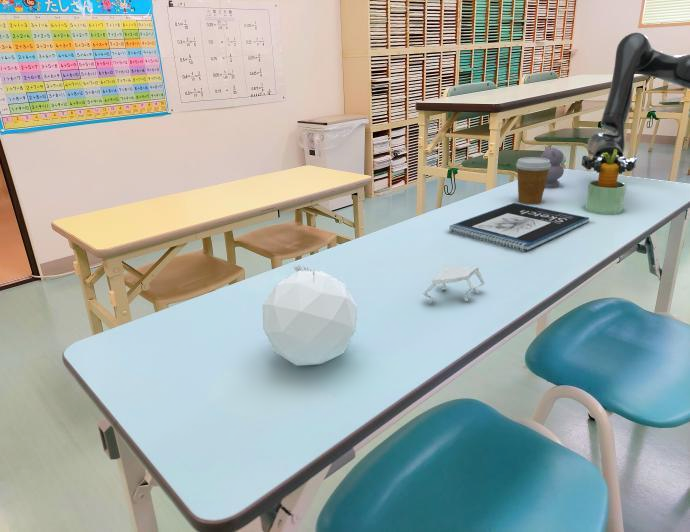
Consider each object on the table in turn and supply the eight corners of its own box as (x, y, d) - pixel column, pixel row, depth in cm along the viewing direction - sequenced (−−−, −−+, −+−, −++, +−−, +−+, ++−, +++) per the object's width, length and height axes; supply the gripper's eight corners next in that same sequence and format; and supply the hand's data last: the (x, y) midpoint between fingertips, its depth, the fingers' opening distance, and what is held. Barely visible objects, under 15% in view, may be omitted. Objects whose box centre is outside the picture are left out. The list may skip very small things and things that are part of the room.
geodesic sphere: (237, 307, 82) (250, 256, 71) (317, 285, 89) (340, 235, 77) (274, 393, 76) (295, 352, 65) (356, 362, 83) (388, 320, 71)
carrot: (597, 208, 139) (606, 152, 133) (590, 202, 144) (598, 148, 138) (616, 207, 139) (626, 151, 133) (608, 202, 144) (617, 147, 138)
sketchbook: (588, 222, 132) (589, 214, 131) (525, 254, 114) (526, 245, 113) (513, 206, 147) (514, 199, 146) (446, 232, 129) (447, 224, 128)
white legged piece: (449, 281, 102) (450, 257, 100) (486, 293, 97) (488, 268, 95) (410, 301, 95) (411, 277, 93) (449, 316, 89) (450, 290, 87)
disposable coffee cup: (514, 196, 157) (517, 156, 153) (547, 197, 154) (552, 157, 150) (511, 204, 149) (514, 162, 145) (546, 206, 146) (551, 164, 141)
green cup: (615, 204, 145) (619, 180, 142) (626, 214, 137) (631, 188, 134) (581, 204, 146) (585, 180, 144) (590, 213, 138) (594, 188, 136)
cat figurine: (566, 188, 164) (571, 149, 159) (541, 189, 164) (545, 150, 159) (555, 181, 172) (560, 145, 167) (531, 182, 172) (535, 146, 167)
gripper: (582, 142, 151) (582, 153, 136) (638, 143, 145) (643, 156, 131) (578, 167, 154) (578, 181, 139) (633, 170, 148) (638, 185, 134)
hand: (610, 169), depth 135 cm, fingers closed on carrot, 4 cm apart
